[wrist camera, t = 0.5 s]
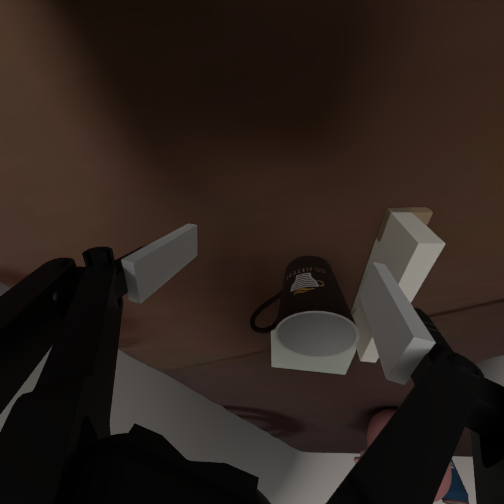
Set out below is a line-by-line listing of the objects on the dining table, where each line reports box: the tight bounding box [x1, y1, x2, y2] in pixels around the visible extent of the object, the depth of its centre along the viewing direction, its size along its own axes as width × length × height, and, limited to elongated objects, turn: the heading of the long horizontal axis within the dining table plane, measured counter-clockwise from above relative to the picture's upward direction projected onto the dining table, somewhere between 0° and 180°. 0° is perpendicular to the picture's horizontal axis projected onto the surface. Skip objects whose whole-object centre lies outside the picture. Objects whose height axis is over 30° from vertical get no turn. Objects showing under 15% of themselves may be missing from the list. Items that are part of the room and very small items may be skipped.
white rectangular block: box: [351, 207, 445, 363], centre depth 26 cm, size 20×4×7 cm, turn 4°
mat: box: [271, 324, 357, 375], centre depth 42 cm, size 16×16×1 cm
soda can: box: [442, 459, 469, 504], centre depth 60 cm, size 7×7×12 cm
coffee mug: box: [250, 256, 360, 357], centre depth 26 cm, size 12×9×10 cm
